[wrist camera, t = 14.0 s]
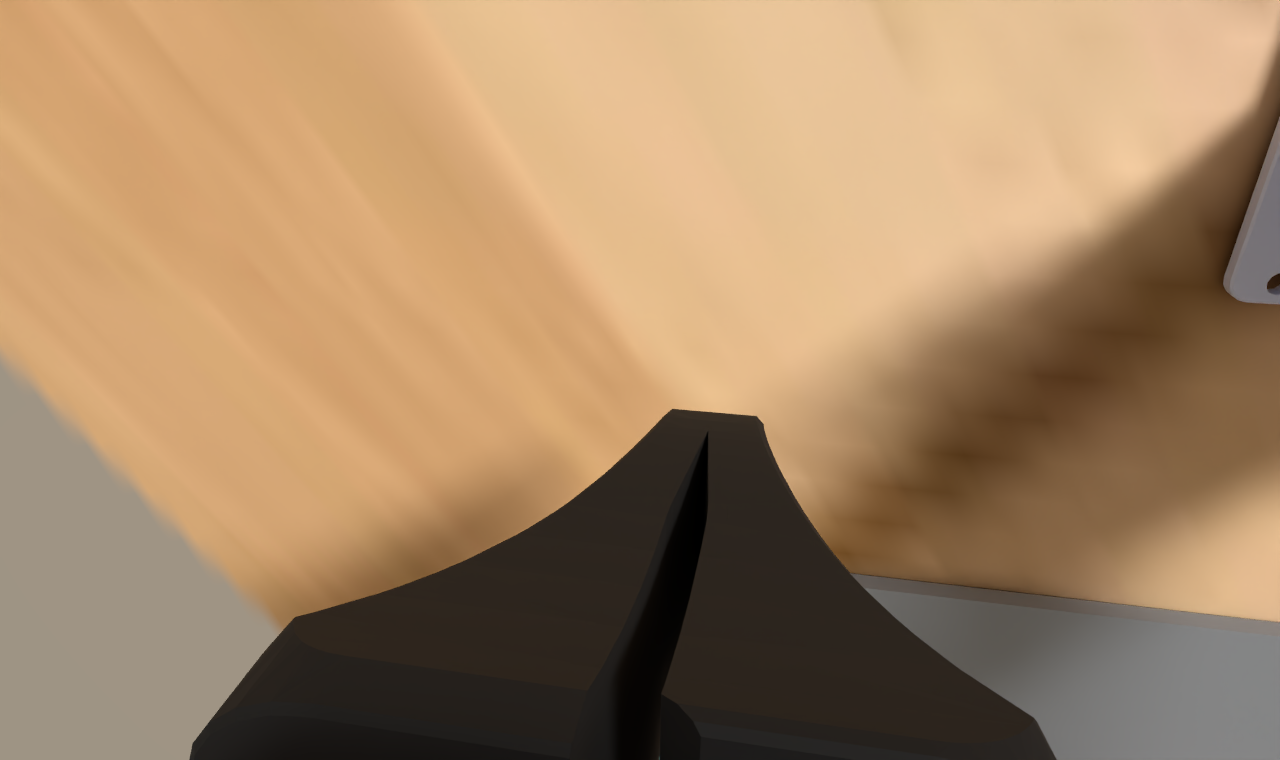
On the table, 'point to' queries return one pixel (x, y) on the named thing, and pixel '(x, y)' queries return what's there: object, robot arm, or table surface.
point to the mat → (1107, 669)
